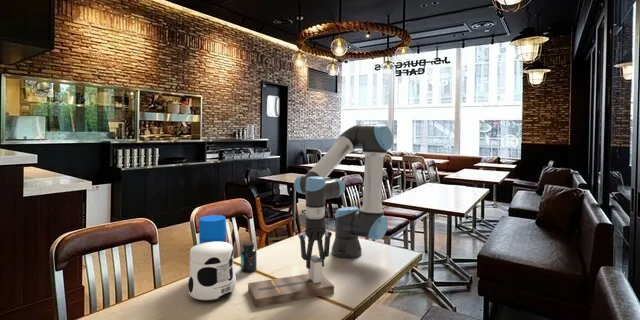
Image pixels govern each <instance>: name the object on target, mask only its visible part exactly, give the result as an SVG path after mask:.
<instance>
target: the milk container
mask: <svg viewBox="0 0 640 320" xmlns="http://www.w3.org/2000/svg"><path fill="white" fill-rule="evenodd" d="M236 277H237V276H236V272H235V268H234V248H233V245H232V244H231V243H229V242H227V241H226V242H206V243H201V244H199V243H198V244H196V245H194V246H192V247H190V250H189V276H188V281H187V290H188V293H189V296H190V297H191V298H192V299H194V300H197V301H200V302H212V301H213V302H214V301H218V300H222V299H224V298H227V297H228V296H230V295H231V294H232V293H233V292H234V290H235V288H236V285H237V278H236Z"/></svg>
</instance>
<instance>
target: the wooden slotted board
mask: <svg viewBox="0 0 640 320" xmlns="http://www.w3.org/2000/svg"><path fill="white" fill-rule="evenodd" d="M247 291H248V293H249V295H250V298H251V300H252V303H253V305H254V307H255V308H260V307H266V306H272V305H277V304H282V303H288V302H292V301H293V302H294V301H299V300H305V299H309V298H310V299H311V298H315V297H321V296H326V295H333V294H335V284H333V283H332V282H331V281H330V280H329V279H328V278H327V277H326V276H325V275H324V274H323V273H322V282H318V283H314V282H313V281H312V280H311V279H310V278H309V275H308V273H304V274H299V275H298V274H297V275H292V276H285V277H279V278H273V279H266V280H259V281H253V282H249V283H247Z"/></svg>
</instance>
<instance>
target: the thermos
mask: <svg viewBox="0 0 640 320" xmlns="http://www.w3.org/2000/svg"><path fill="white" fill-rule="evenodd" d="M198 233H199V234H198V235H199V237H198V239H199V240H198V241H199V243H198V244H201V243H206V242H227V219H226V216H224V215H219V214H218V215H217V214H216V215H215V214H213V215H212V214H211V215H206V216H202V217H200V218H199V220H198Z"/></svg>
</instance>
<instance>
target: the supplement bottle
mask: <svg viewBox="0 0 640 320" xmlns="http://www.w3.org/2000/svg"><path fill="white" fill-rule="evenodd" d="M257 255H258V253H257V249H256V248H255V243H254V242H251V241H248V242H244V243H242V249H241V251H240V271H241V272H242V273H244V274H251V273H255V272H256V271H257V266H258V265H257V263H258V262H257V261H258V260H257Z"/></svg>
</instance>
